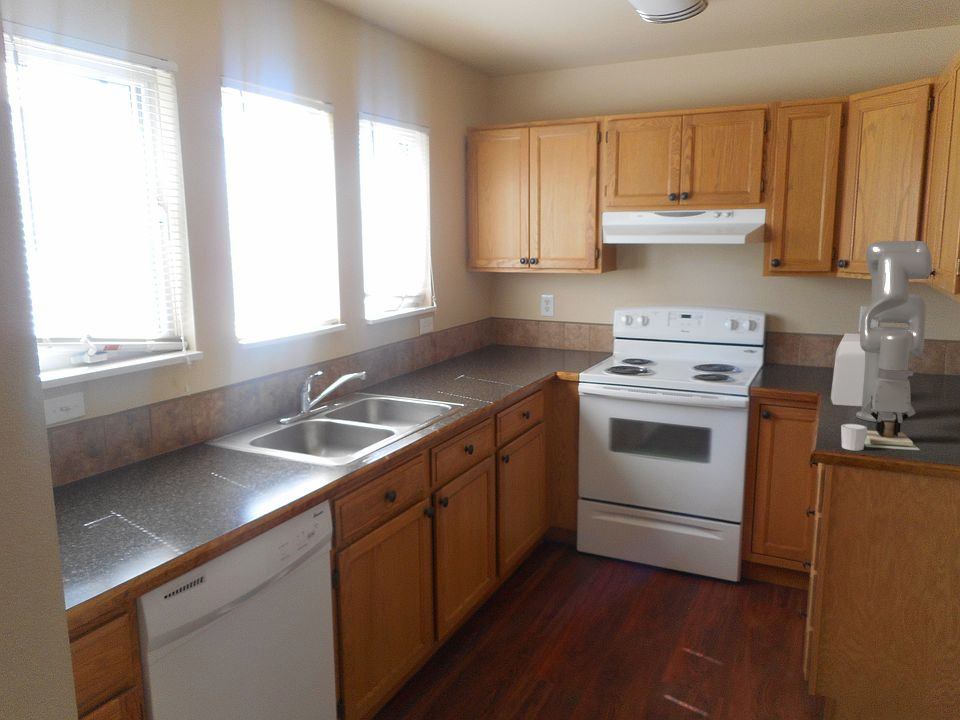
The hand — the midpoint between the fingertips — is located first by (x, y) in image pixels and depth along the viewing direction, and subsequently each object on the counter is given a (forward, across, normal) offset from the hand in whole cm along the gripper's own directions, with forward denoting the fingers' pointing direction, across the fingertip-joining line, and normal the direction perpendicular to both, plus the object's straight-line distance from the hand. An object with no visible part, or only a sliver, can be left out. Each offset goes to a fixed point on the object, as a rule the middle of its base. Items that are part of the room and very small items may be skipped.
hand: (887, 433), depth 215 cm
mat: (+3, 0, +1) cm, 3 cm away
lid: (+2, 0, 0) cm, 2 cm away
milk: (+4, 0, -57) cm, 58 cm away
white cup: (+3, +11, +10) cm, 15 cm away
